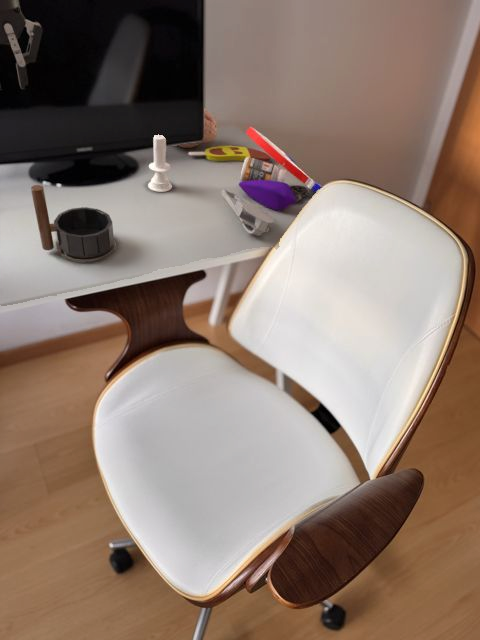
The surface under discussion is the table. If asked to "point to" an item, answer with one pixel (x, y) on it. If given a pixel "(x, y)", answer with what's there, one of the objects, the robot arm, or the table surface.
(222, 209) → the table surface
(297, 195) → the corroded twin loop
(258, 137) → the red toothbrush
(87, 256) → the wooden handled pot
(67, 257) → the round base
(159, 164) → the candle
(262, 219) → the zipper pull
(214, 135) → the anatomical model
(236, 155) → the popsicle
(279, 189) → the purple lump
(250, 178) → the pill bottle
